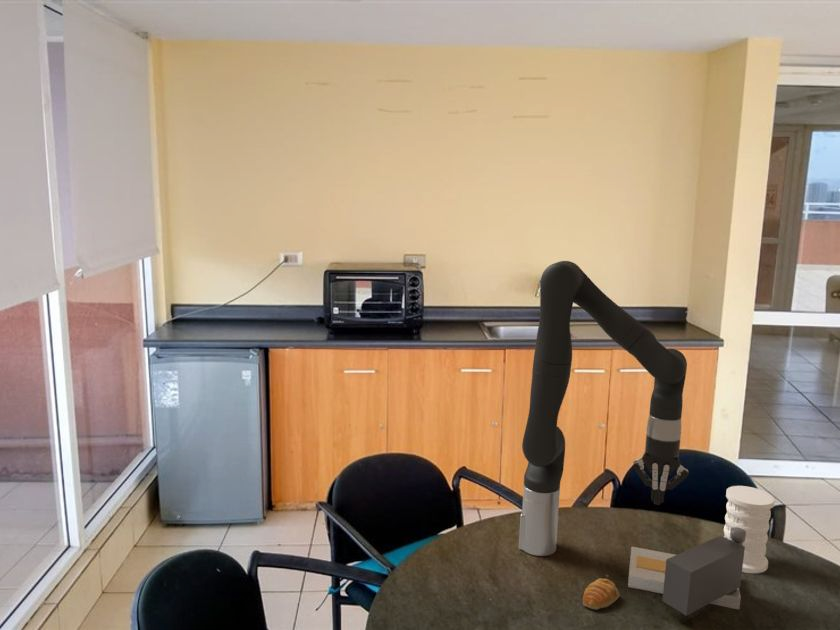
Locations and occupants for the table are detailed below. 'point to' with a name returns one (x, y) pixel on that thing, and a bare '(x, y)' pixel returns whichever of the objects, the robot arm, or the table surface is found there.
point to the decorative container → (750, 523)
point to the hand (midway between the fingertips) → (657, 503)
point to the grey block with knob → (704, 572)
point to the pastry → (600, 594)
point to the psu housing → (651, 575)
